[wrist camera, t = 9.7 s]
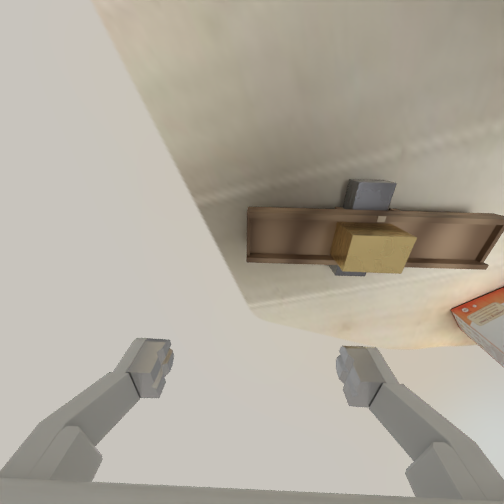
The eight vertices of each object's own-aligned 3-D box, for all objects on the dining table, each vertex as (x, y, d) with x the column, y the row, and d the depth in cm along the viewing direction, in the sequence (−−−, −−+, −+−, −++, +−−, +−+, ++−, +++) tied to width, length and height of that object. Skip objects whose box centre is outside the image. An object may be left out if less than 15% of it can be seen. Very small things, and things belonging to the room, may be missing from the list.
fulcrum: (383, 180, 23) (396, 183, 21) (356, 266, 29) (364, 276, 26) (349, 179, 23) (359, 182, 21) (329, 265, 29) (335, 275, 26)
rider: (390, 223, 22) (417, 237, 18) (379, 255, 24) (401, 273, 20) (337, 221, 22) (353, 235, 18) (329, 253, 24) (342, 271, 20)
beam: (484, 211, 23) (519, 220, 20) (458, 255, 26) (486, 269, 23) (248, 204, 23) (247, 212, 20) (247, 249, 26) (246, 262, 23)
